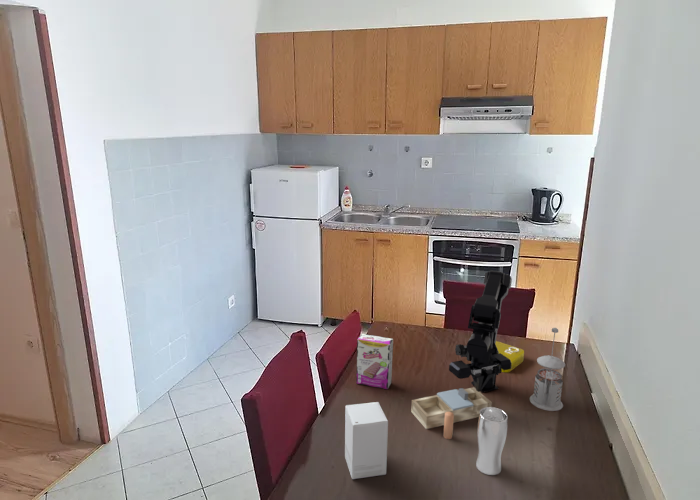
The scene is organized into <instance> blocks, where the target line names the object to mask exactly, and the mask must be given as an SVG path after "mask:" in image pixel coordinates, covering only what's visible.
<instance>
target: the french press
mask: <svg viewBox="0 0 700 500" xmlns="http://www.w3.org/2000/svg"><path fill="white" fill-rule="evenodd" d="M551 328H552V329H551V332H552V333H554V334H553V340H552V349H551V355H542V356H539V357H537V359H536V361H537V362H536V363H537V364H538V365H539V366H541V367H542V368H541V369H538V370H537V371H536V375H535V377H534V387H533V394H532V395H530V397H529V402H530V403H531V404H532V405H533V406H534V407H536V408H538V409H541V410H544V411H549V412H554V411H556V412H557V411H560V410H562V409H563V407H564V404H563V402H562V401H561V400H562V399H561V397H562V393H563V392H562V389H563V383H564V382H563V381H564V380H563V375H562V374H561V373H560V372H559V371H557V370H561V369H563V368H565V367H566V363H565V362H564V361H563V360H562V359H560V358H559V357H558V356H554V355H553V353H554V344H555V338H556V334H557V333H559V329H558V328H557V327H551Z"/></svg>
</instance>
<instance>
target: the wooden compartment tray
mask: <svg viewBox="0 0 700 500" xmlns="http://www.w3.org/2000/svg"><path fill="white" fill-rule="evenodd" d="M463 389H464V390H465V391H466V392H467V393H468V400H469V401H470V402H472V403H473V406H472V407H467V408H463V409H458V410H454V411H453V410H452V409H451V408H450V407H449V406H448V405H447V404H446V403H445V402H444V401H443V400H442V399H441V398H440V397H439V396H438V395H437V394H435V395H431V396H424V397H420V398H415V399H411V407H410V408H411V409H410V411H411V414H412V415H414V417H415V419H417V421H419V423H420V424H421V425H422V426H423V427H424V429H425V430H428V429H429V430H430V429H434V428H438V427H441V426H444V420H445V412H452V413H453V414H454V420H453V424H454V423H458V422H463V421H466V420H472V419H475V418H479V414H480V410H481V409H482V408H485V407H492V406H493V405H492V404H493V403H492V401H491V400H490V399H489V398H488V397H486V396H485V395H484V394H483V393H482V392H481V391H480V392H478V391H477V390H476V388H475V386H472V387H469V388H463ZM457 390H458V391H459V389H457Z"/></svg>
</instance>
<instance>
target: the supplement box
mask: <svg viewBox="0 0 700 500" xmlns="http://www.w3.org/2000/svg"><path fill="white" fill-rule="evenodd" d="M344 414H345V416H344V417H345V418H344V419H345V420H344V422H345V423H344V424H345V425H344V426H345V427H344V458H345V461H346V465H347V468H348V470H349V473H350V474H349V475H350V477H351V480H356V479H363V478H371V477H376V476H385V475H387V461H388V458H387V457H388V435H389V434H388V433H389V432H388V431H389V420H388V419H387V416H386V414H385V412H384V411H383V409H382V407H381V405H380V402H379V401H376V402H374V401H373V402H367V403H366V402H365V403H355V404H346V405H345V410H344Z"/></svg>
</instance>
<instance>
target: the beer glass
mask: <svg viewBox="0 0 700 500" xmlns="http://www.w3.org/2000/svg"><path fill="white" fill-rule="evenodd" d="M508 419H509V418H508V414H507V412H505V411H504V410H503V409H501V408H497V407H494V406H491V407H485V408H482V409H481V410H480V414H479V417H478V422H477V429H476V431H477V433H476V435H477V444H478V455H477V459H476V462H475V463H476V464H475V465H476V469H478V471H480V472H481V473H482V474H484V475H487V476H496V475H499V474H500V473H501V471H502V461H501V458H502V454H503V453H502V452H503V449H504V447H505V443H506V439H507V434H508Z"/></svg>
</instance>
